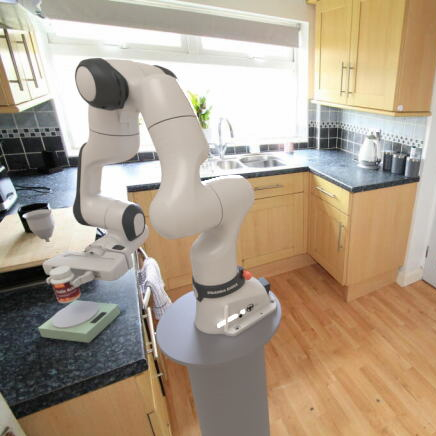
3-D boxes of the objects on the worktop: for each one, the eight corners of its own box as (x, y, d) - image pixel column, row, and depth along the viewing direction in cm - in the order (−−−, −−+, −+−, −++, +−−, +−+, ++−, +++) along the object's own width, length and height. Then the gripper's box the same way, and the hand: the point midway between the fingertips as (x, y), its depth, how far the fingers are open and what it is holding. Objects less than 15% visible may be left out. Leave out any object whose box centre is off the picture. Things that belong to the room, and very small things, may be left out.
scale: (77, 308, 90) (74, 298, 88) (120, 313, 89) (117, 302, 87) (41, 337, 80) (36, 326, 78) (89, 342, 79) (85, 331, 77)
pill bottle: (59, 306, 78) (48, 278, 74) (57, 296, 81) (46, 269, 78) (82, 298, 81) (73, 270, 77) (79, 289, 84) (70, 262, 81)
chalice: (41, 267, 107) (22, 219, 100) (41, 259, 112) (22, 212, 105) (68, 261, 112) (51, 214, 104) (67, 253, 116) (51, 207, 109)
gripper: (66, 242, 90) (18, 268, 78) (134, 248, 88) (95, 276, 76) (73, 261, 93) (27, 289, 80) (138, 267, 91) (102, 298, 79)
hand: (60, 283), depth 78 cm, fingers closed on pill bottle, 5 cm apart
